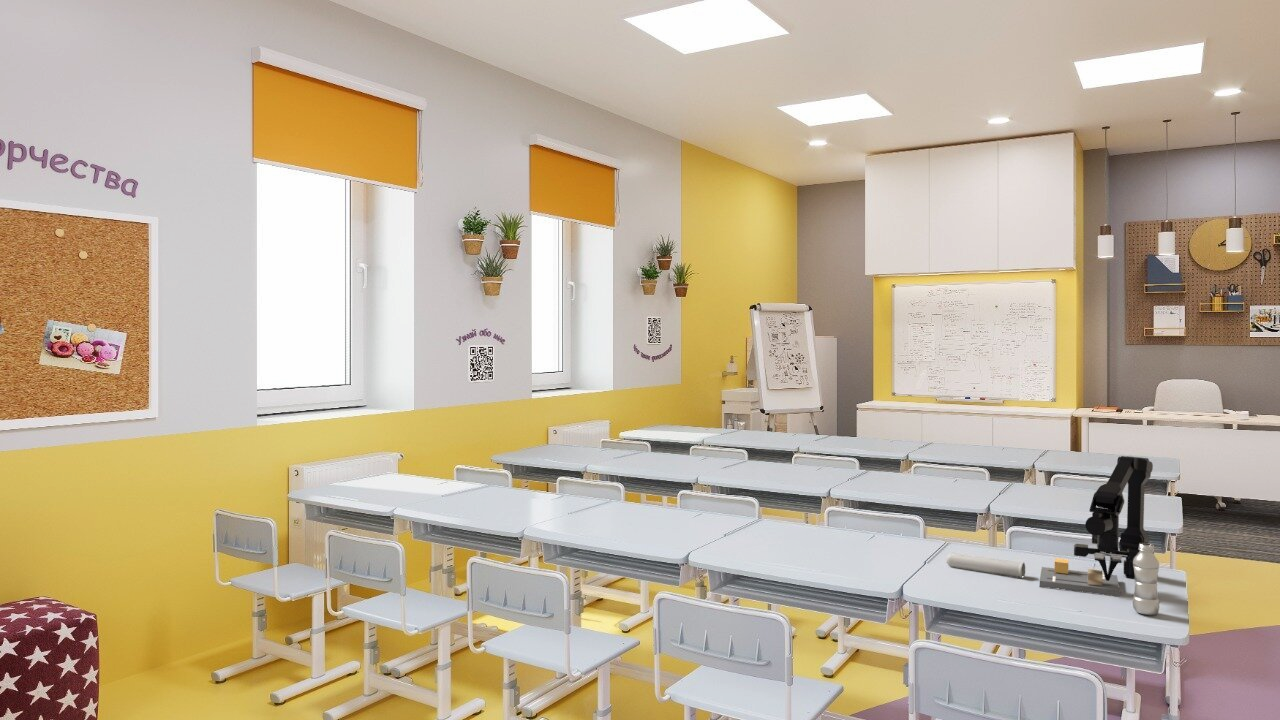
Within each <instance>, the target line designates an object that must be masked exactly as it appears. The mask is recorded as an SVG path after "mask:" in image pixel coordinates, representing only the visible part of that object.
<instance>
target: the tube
mask: <svg viewBox="0 0 1280 720" xmlns="http://www.w3.org/2000/svg"><path fill="white" fill-rule="evenodd" d="M946 564H947V565H948V566H949V567H950V568H954V567H955V569H960V568H961V570H962V569H963V570H967V569H968V571H973V570H975V571H974V572H979V571H981V572H980V573H985V572H987V573H986V574H991V573H993V574H992V575H997V574H999V576H1004V577H1010V576H1011V577H1010V578H1016V577H1018V578H1017V579H1021V578H1022V576H1024V577H1025V576H1026V564H1025V562H1023V561H1022V562H1018V561H1011V560H1003V559H999V558H991V557H984V556H979V555H978V556H977V555H969V554H962V553H955V552H952V553H950V554H947V555H946Z"/></svg>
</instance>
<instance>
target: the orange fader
mask: <svg viewBox="0 0 1280 720" xmlns="http://www.w3.org/2000/svg"><path fill="white" fill-rule="evenodd" d="M1054 568H1055V572H1056V573H1065V574H1068V570H1069V559H1068V558H1066V559H1065V558H1058V557H1056V558H1055V557H1054Z"/></svg>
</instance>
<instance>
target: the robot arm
mask: <svg viewBox="0 0 1280 720" xmlns="http://www.w3.org/2000/svg"><path fill="white" fill-rule="evenodd" d="M1116 461H1117V462H1116V463H1117V464H1116V465H1115V467H1114V469H1113V471H1112V473H1111V475H1110V476H1109V478H1108V480H1107V482H1106V483H1104V484H1102V485H1100V486H1099V487H1098V488H1097V489H1096V491H1095V492H1094V494H1093V495H1092V496H1093V497H1092V500H1091V504H1090V507H1089V512H1091V513H1092V514H1091V516H1089V518H1087V519H1086V520H1085V524H1084V525H1085V528H1086V529H1085V530H1086V531H1087V532H1088V533H1090V535H1091V544H1094V545H1096V548H1095V547H1094V548H1093V547H1089V545H1088V544H1086V543H1085V544H1084V543H1083V544H1082V543H1075V544H1074V545H1073V556H1075V557H1083V558H1084V557H1085V558H1086V557H1087V556H1088V555H1093V556H1094V557H1093V558H1094V561H1096V562H1097V561H1098V563H1099V565H1100V567H1101V569H1102V573H1103V574H1104V575H1105V578H1106V581H1109V580H1110V577H1111V575H1113V572H1114V570H1115V569H1116V567H1117V565H1118V564H1123V572H1122V573H1123V575H1125V578H1129V579H1135V574H1134V567H1133V559H1134V557H1135V556H1136V555H1137V554H1138V553H1139V550H1138V548H1139V543H1149V544H1151V543H1150V536H1149V535H1148V534H1147V532H1146V530H1145V529H1144V523H1145V521H1144V520H1145V519H1144V518H1145V517H1144V516H1145V485H1146V483H1147V482H1148V481H1149V479H1150V478H1151V473H1152V472H1153V469H1154V468H1153V466H1154V465H1153V462H1152V461H1150V459H1149V458H1148V457H1141V456H1140V457H1139V456H1130V455H1129V456H1128V455H1127V456H1125V455H1121V456H1118V457H1117V460H1116ZM1126 486H1127V510H1126V511H1127V515H1126V518H1127V519H1126V528H1125V529H1124V530H1123V532H1121V534H1120V535H1119V532H1120V531H1119V526H1120V522H1119V521H1120V514H1121V513H1122V510H1123V508H1124V505H1125V497H1124V495H1123V492H1124V489H1125V488H1126ZM1119 536H1120V539H1119ZM1153 554H1154V555H1155V551H1154V552H1153ZM1106 557H1109V564H1108V567H1107V562H1106V561H1107V559H1106ZM1123 558H1124V560H1123V561H1122V559H1123ZM1122 562H1123V563H1122Z"/></svg>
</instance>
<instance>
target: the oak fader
mask: <svg viewBox="0 0 1280 720" xmlns="http://www.w3.org/2000/svg"><path fill="white" fill-rule="evenodd" d="M1087 572H1088V584H1091V585H1100V586H1102V581H1103V574H1104V573H1103V570H1098V569H1093V568H1092V569H1091V568H1088V569H1087Z"/></svg>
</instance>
